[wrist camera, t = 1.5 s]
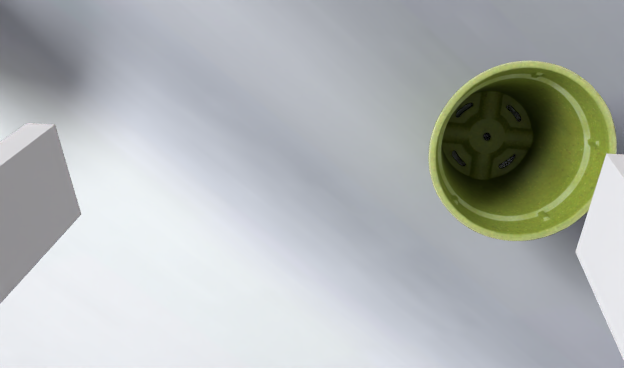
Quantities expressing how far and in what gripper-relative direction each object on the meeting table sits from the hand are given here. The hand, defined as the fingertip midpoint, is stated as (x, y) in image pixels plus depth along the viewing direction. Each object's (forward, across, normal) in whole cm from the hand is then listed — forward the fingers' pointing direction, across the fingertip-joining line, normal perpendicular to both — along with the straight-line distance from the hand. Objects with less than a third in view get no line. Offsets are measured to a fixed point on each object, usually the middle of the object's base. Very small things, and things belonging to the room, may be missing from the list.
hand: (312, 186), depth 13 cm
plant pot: (+23, -8, +9) cm, 26 cm away
